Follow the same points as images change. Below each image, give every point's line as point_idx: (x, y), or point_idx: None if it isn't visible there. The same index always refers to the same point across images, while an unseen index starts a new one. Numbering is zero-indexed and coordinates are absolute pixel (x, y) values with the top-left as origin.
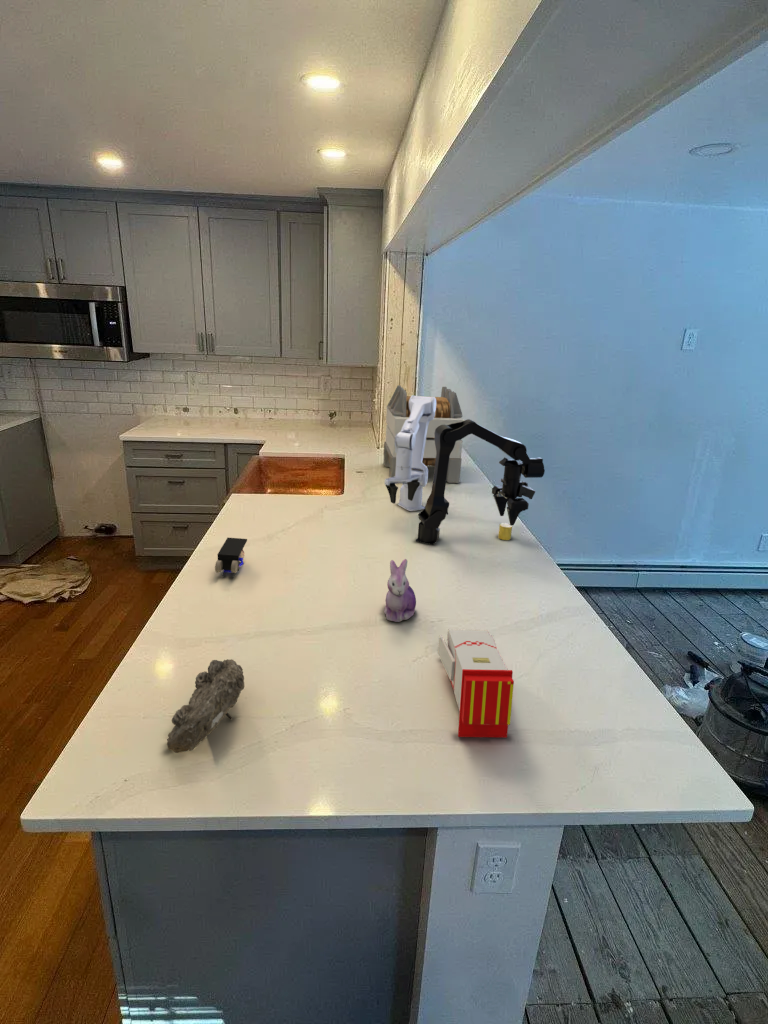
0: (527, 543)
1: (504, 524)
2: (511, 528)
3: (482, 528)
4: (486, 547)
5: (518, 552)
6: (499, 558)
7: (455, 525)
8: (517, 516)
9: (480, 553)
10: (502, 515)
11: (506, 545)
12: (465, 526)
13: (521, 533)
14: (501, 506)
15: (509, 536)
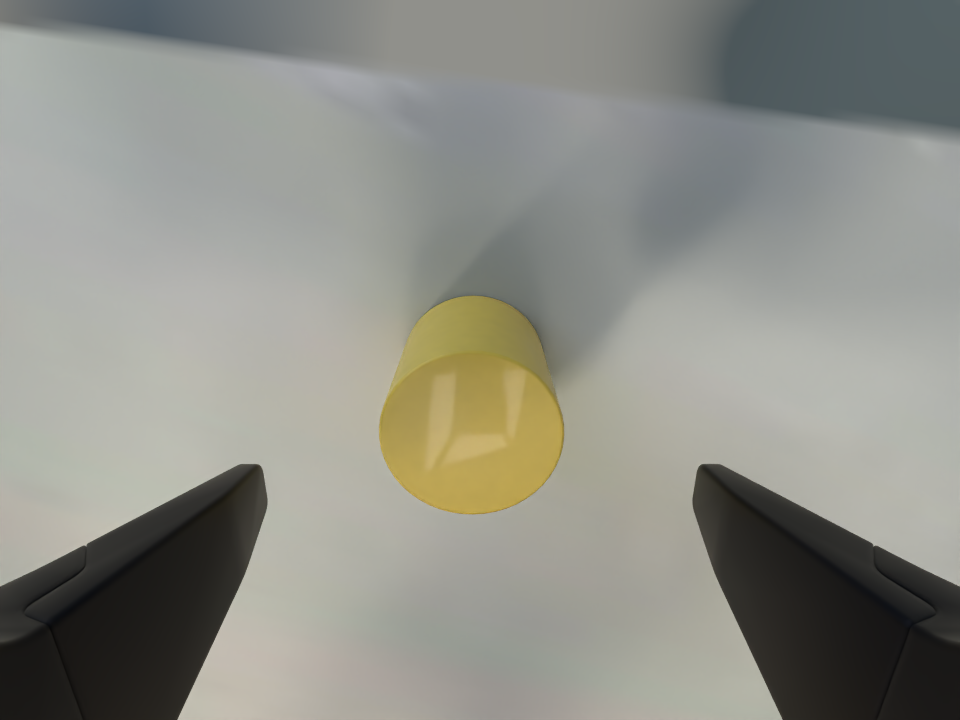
0: (672, 149)
1: (444, 449)
2: (538, 369)
3: None
4: (677, 596)
5: (872, 364)
6: None
7: None
8: (902, 568)
9: None
10: (259, 482)
11: (674, 415)
12: None
13: (335, 79)
14: (167, 645)
15: (542, 349)
